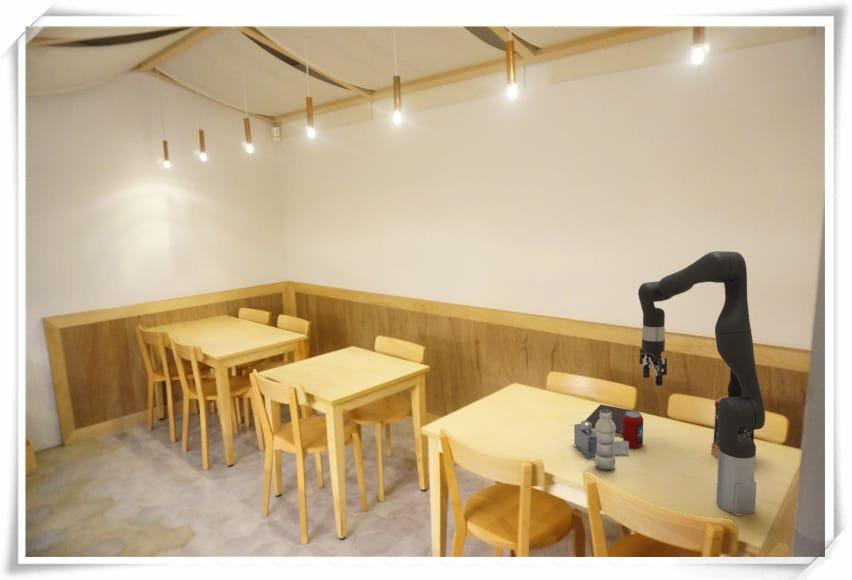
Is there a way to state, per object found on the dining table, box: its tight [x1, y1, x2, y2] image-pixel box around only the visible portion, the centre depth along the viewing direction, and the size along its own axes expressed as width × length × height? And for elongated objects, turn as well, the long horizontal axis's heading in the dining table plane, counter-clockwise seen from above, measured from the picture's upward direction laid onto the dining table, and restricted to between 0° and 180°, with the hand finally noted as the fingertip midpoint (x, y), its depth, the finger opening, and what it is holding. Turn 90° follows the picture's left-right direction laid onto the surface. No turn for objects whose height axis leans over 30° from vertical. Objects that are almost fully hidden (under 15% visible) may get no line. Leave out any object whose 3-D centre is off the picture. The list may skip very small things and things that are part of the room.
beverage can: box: [622, 410, 644, 449], centre depth 200 cm, size 7×7×12 cm
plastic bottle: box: [594, 410, 616, 471], centre depth 184 cm, size 6×7×20 cm
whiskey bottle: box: [710, 369, 755, 459], centre depth 185 cm, size 10×10×32 cm
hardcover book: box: [584, 404, 639, 439], centre depth 220 cm, size 16×23×2 cm
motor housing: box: [573, 420, 630, 460], centre depth 198 cm, size 15×14×11 cm
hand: (652, 381), depth 197 cm, fingers open, 8 cm apart
